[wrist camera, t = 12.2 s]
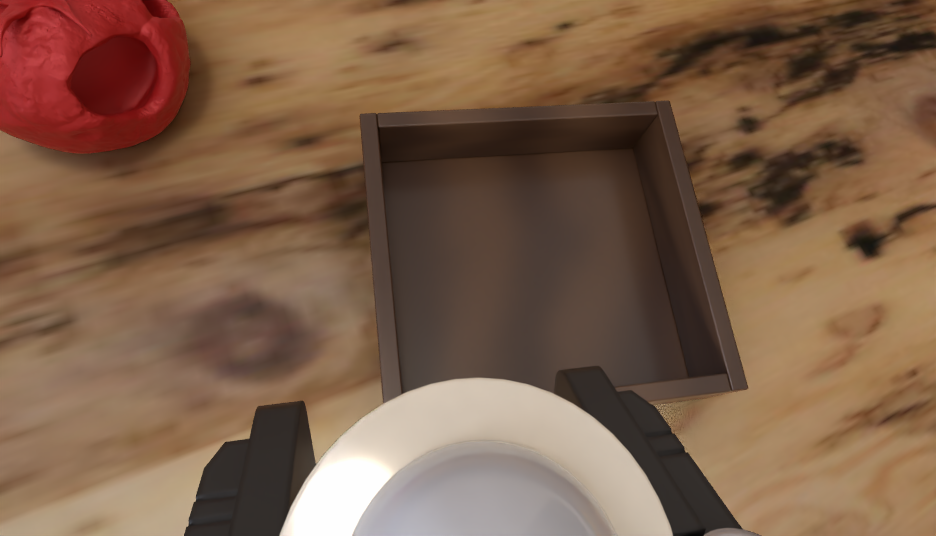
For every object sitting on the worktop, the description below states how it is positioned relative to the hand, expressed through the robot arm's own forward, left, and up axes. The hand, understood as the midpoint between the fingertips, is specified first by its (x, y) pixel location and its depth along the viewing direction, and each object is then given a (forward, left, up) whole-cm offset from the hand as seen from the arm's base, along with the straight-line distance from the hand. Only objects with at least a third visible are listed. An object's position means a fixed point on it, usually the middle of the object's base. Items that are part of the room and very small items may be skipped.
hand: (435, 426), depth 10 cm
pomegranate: (-24, +1, -17) cm, 30 cm away
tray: (-2, +10, -17) cm, 20 cm away
